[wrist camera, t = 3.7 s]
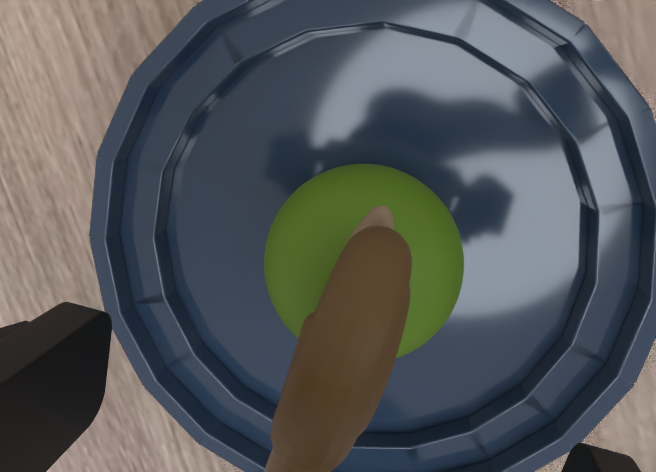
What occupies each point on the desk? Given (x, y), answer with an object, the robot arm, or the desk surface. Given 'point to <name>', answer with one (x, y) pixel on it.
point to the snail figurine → (353, 301)
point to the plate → (409, 157)
